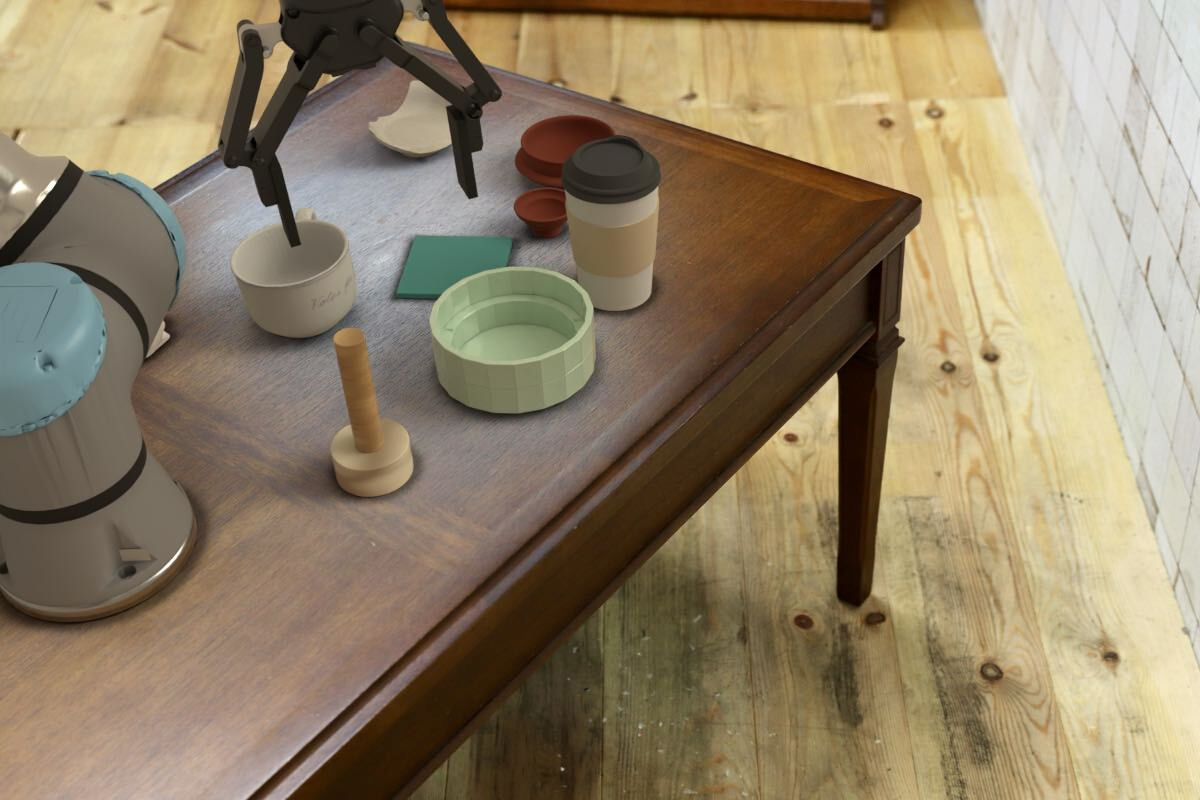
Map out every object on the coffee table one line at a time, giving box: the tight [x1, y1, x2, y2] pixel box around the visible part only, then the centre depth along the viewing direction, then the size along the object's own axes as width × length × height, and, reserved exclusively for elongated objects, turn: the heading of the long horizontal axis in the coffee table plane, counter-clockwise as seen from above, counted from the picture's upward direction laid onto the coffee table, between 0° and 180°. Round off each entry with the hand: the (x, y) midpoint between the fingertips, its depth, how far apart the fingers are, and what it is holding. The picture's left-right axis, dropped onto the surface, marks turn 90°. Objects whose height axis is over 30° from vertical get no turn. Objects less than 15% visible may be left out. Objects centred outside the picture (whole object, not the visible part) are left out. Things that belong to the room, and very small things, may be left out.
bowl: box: [428, 266, 597, 414], centre depth 122 cm, size 14×14×6 cm
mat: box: [395, 234, 514, 300], centre depth 136 cm, size 10×10×1 cm
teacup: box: [229, 207, 358, 339], centre depth 129 cm, size 14×11×8 cm
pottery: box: [513, 114, 617, 239], centre depth 144 cm, size 12×20×4 cm, turn 168°
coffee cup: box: [561, 134, 662, 312], centre depth 127 cm, size 9×9×15 cm
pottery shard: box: [367, 79, 452, 158], centre depth 154 cm, size 10×11×5 cm
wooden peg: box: [330, 327, 415, 498], centre depth 110 cm, size 6×6×14 cm
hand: (381, 213), depth 103 cm, fingers open, 13 cm apart
